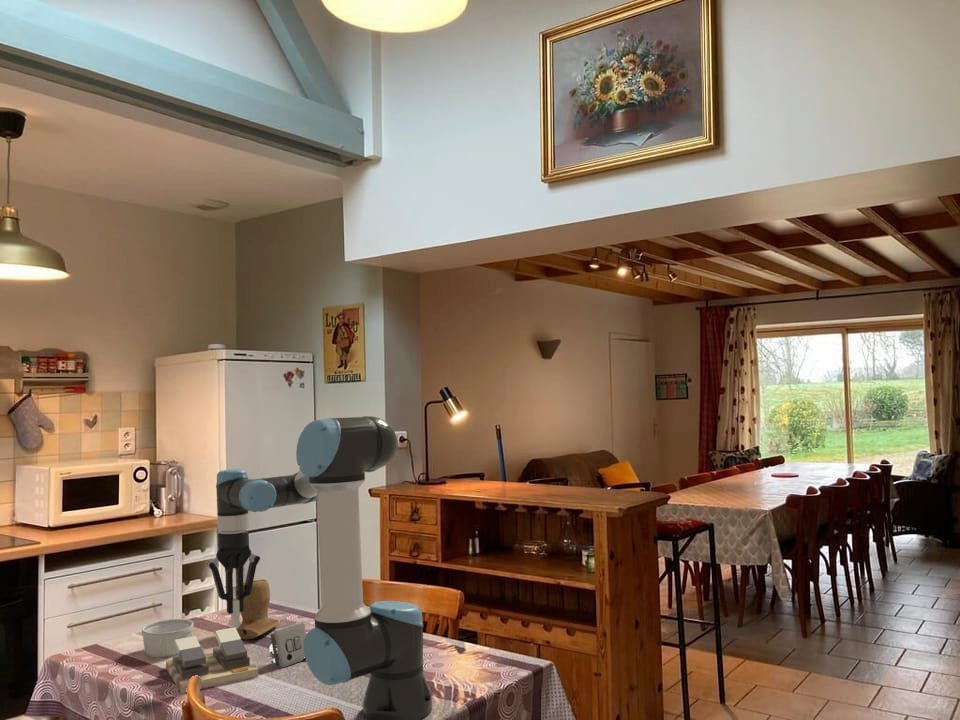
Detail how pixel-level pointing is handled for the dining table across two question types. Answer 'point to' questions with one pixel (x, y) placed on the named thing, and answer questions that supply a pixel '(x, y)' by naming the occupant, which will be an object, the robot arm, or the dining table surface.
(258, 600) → the tan piece
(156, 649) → the ramekin
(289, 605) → the dining table surface
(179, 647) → the rocker
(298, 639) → the electrical switch
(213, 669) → the switch board
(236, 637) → the rocker
